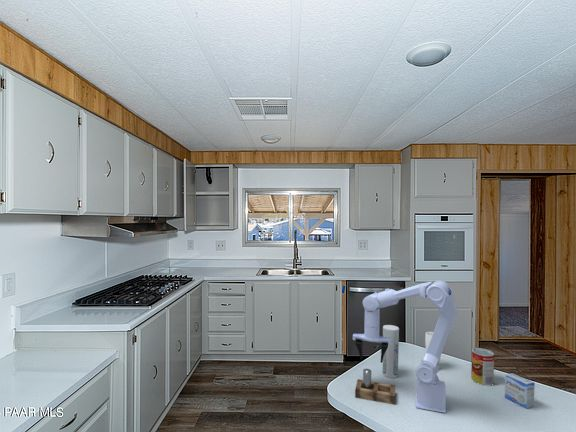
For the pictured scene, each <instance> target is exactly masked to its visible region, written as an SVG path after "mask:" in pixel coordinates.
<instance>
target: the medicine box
mask: <svg viewBox="0 0 576 432" xmlns="http://www.w3.org/2000/svg"><path fill="white" fill-rule="evenodd" d="M504 376H505V378H504V381H505V382H504V398H505V399H507V400H508V401H511V402H513V404H516V405H519V406H521V407H523V408H525V409H530V408H533V407H535V382H533V381H531V380H529V379H526V378H525V377H522V376H520V375H517V374H516V373H514V372H512V373H507V374H505V375H504Z"/></svg>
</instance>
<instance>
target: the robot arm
mask: <svg viewBox="0 0 576 432" xmlns="http://www.w3.org/2000/svg"><path fill="white" fill-rule="evenodd" d="M417 296H419V297H421V298H424V299H426V298H427V299H428V300H429V301H430V302H431V303H433V304H434V305H435V306H436V308H437V309H438V311H439V316H438V319H437V322H436V325H435V327H434V329H433V331H432V332H433V335H432V338H431V341H430V343H429V346H428V349H427V352H426V351H425V354H424V356H423V358H422V360H421V362H420V363H419V365H417V367H416V368H415V374H416V375H415V376H416V395H414V400H415V408H416V409H422V410H427V411H432V412H438V413H445V414H446V411H447V410H446V409H447V407H446V404H447V398H446V397H447V390H446V388H447V387H446V382H445V381H443V380H441V379H439V376H438V375H437V374H438V373H439V372H440V370H441V369H440V367H441V364H440V365H439V361H440V362H441V356H442V353H443V351H444V348H445V345H446V343H447V340H448V337H449V334H450V332H451V329H452V327H453V324H454V321H455V318H456V315H457V314H458V309H457V304H456V301H455V298H454V292H453V289H452V288H451V287H450V285H449V284H448V282H446V281H444V280H439V279H438V280H435V281H434V282H433V281H428V282H422V283H418V284H416V285H415V284H414V285H413V286H409V287H405V288H403V289H399V290H395V289H394V288H393V289H392V288H385V289H384V290H383V291H379V292H378V291H375V292H374V293H372V294H369V295H367V296H365V297H364V298H363V299H362V306H363V308H364V322H363V323H364V327H363V328H364V333H353V334H352V340H353V341H355V343H354V344H355V346H356V348H357V350H358V353H359V358H360V361H361V360H362V361H363V356H364V355H363V342H371V343H376V344H377V343H378V344H379V343H380V344H381V345H380V346H381V347H380V353H381V354H380V363H382V364H383V357H384V354H385V352H386V350H387V348H388V345H391V338H387V337H383V335H382V336H381V335H380V314H381V313H380V310H381V309H382V308H386V307H390V306H394V305H398V303H399V302H400V300H403V299H407V298H412V297H417Z"/></svg>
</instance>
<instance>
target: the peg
mask: <svg viewBox="0 0 576 432" xmlns="http://www.w3.org/2000/svg"><path fill="white" fill-rule="evenodd" d="M362 372H363V373H362V380H363V388H365V389H371V381H372V370H371V369H369V368H363V371H362Z"/></svg>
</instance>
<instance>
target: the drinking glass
mask: <svg viewBox="0 0 576 432" xmlns="http://www.w3.org/2000/svg"><path fill="white" fill-rule="evenodd" d="M433 332H434V331H426V332H425V336H424V339H425V340H424V344H425V345H424V346H425V353H426V352H427V349H428V346H429V343H430V341H431V338H432V335H433ZM440 363H441V360H440V361H439V365H440V366H441V364H440Z"/></svg>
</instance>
